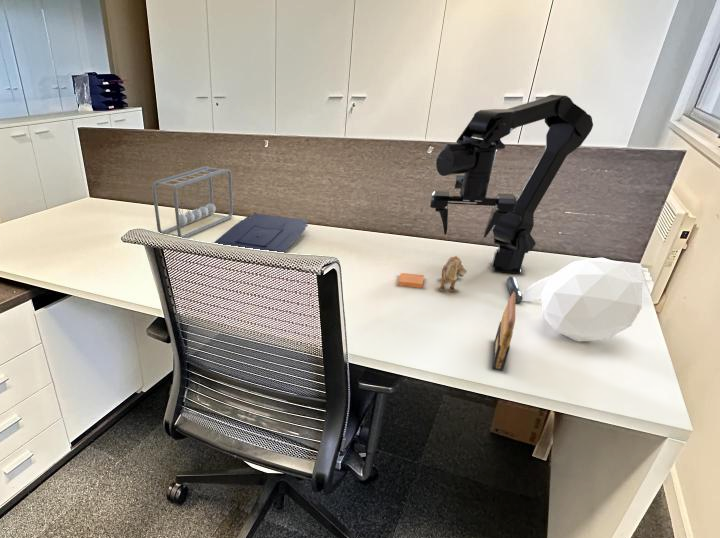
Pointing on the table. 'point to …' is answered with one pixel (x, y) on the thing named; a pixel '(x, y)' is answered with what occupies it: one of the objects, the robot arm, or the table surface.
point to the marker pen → (514, 289)
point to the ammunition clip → (504, 335)
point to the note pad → (411, 280)
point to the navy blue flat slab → (264, 232)
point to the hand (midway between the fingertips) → (464, 235)
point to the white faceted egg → (589, 299)
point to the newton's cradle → (196, 213)
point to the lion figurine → (452, 272)
